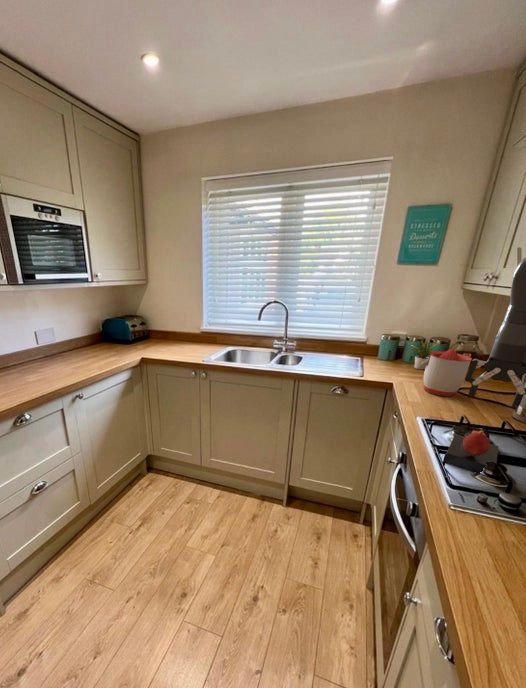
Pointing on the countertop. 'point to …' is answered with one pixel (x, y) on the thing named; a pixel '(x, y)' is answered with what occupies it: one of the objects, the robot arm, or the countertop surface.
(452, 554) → the countertop surface
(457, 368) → the citrus juicer
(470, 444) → the onion
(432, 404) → the countertop surface
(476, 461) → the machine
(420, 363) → the house plant
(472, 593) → the countertop surface
